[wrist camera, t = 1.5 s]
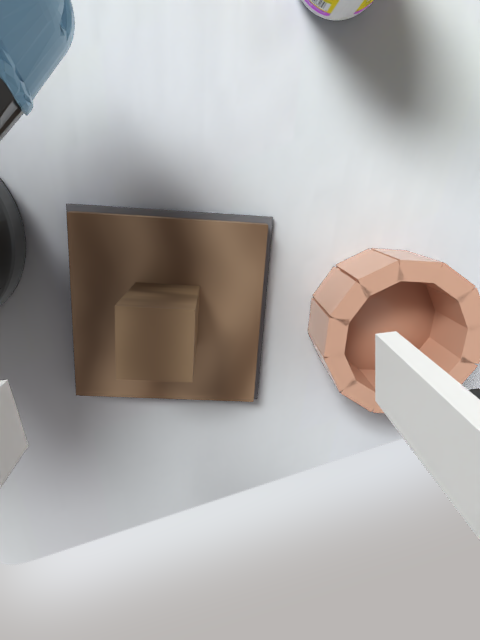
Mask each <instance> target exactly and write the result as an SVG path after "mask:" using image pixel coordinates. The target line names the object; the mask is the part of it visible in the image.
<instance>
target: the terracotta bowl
mask: <svg viewBox="0 0 480 640" xmlns="http://www.w3.org/2000/svg"><path fill="white" fill-rule="evenodd" d="M313 297H314V298H312V299H311V307H310V316H309V324H308V332H309V333H308V334H309V336H310V338H311V340H312V343H313V345H314V347H315V349H316V351H317V353H318V355H319V358H320V360H321V362H322V363H323V365H324V367H325V368H326V370H327V372H328V373H329V375H330V377H331V378H332V380H333V382H334V384H335V385H336V387H337V389H338V390H339V392H340V393H341V394H343V395H344V396H346V397H347V398H349V399H351V400H352V401H354V402H356V403H357V404H359V405H360V406H362V407H364V408H365V409H367V410H368V411H370V412H372V411H373V413H384V412H383V410H382V409H381V408H380V406H379V405H378V404H377V402H376V401H375V334H378V333H386V332H394V331H396V332H398V333H399V334H400V335H401V336H403V337H404V338H405V339H406V340H407V341H409V342H410V343H411V344H412V345H414V346H415V347H416V348H417V349H418V350H420V351H421V352H422V353H423V354H425V355H426V356H427V357H428V358H429V359H431V360H432V361H433V362H434V363H436V364H437V365H438V366H439V367H441V368H442V369H443V370H444V371H445V372H447V373H448V374H449V375H450V376H452V377H453V378H454V379H455V380H456V381H458V382H459V383H460V384H461V385H462V383H463V382H464V381H465V380H466V379H467V378H468V377H469V375H470V374H471V373H472V372H473V371H474V370H475V369H476V367H477V365H476V364H479V362H480V296H479V293H478V290H477V288H475V285H473V284H472V283H471V282H469V281H468V280H467V279H465V278H464V277H463V276H461V275H460V274H459V273H457V272H456V271H455V270H453V269H452V268H451V267H449V266H448V265H447V264H445V263H443V262H440V261H437V260H434V259H431V258H428V257H425V256H422V255H419V254H416V253H413V252H410V251H407V250H392V249H376V248H371V249H367V250H365V251H363V252H361V253H359V254H357V255H355V256H353V257H351V258H349V259H346V260H344V261H342V262H340V263H338V264H336V268H335V267H333V268H332V269H331V271H330V272H329V274H328V275H327V276H326V278H325V279H324V280H323V282H322V283H321V285H320V286H319V287H318V289H317V290H316V291H315V293H314V294H313ZM474 363H476V364H474Z"/></svg>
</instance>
